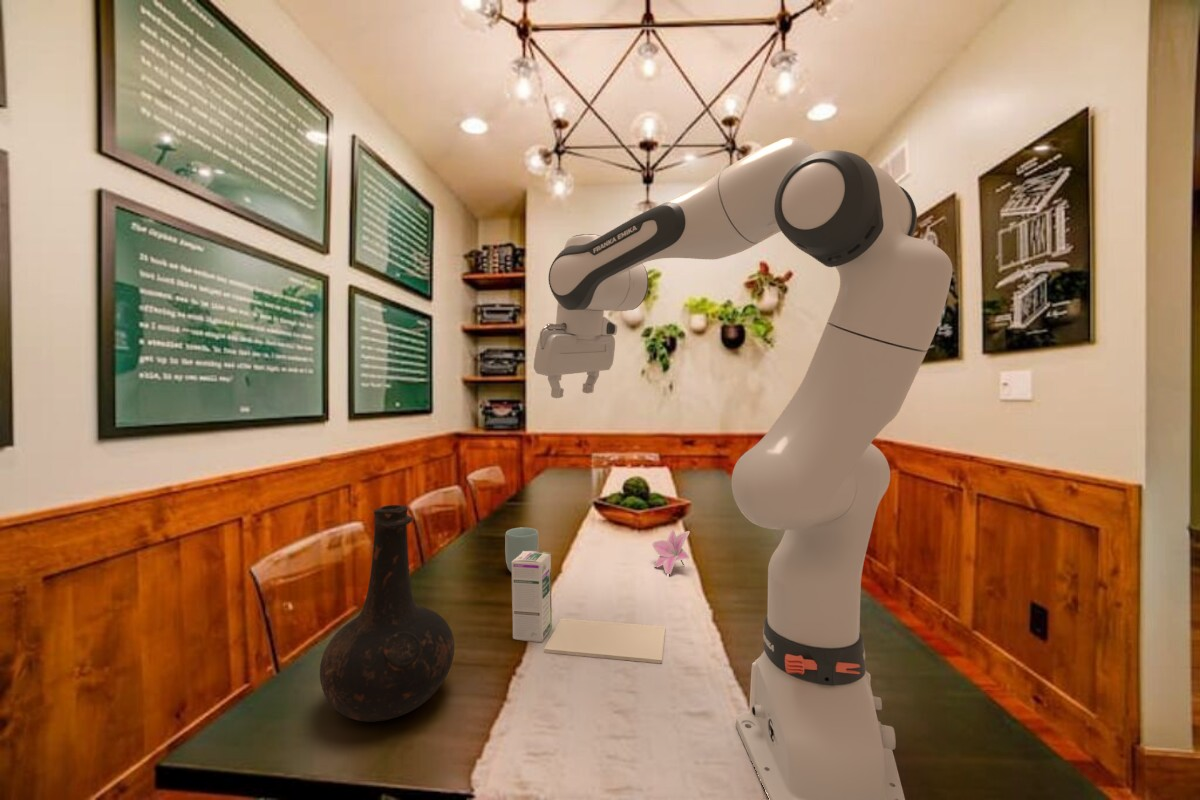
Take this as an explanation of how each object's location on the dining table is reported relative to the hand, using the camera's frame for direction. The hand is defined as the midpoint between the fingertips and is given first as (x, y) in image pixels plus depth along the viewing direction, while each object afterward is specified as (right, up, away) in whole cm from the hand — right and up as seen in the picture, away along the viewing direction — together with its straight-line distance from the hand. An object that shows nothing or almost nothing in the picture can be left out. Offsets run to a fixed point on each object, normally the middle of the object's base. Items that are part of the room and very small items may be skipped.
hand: (572, 395), depth 101 cm
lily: (+23, -44, +28) cm, 57 cm away
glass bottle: (-25, -45, -26) cm, 57 cm away
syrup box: (-7, -44, -6) cm, 45 cm away
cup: (-14, -43, +25) cm, 52 cm away
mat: (+7, -44, -9) cm, 45 cm away
